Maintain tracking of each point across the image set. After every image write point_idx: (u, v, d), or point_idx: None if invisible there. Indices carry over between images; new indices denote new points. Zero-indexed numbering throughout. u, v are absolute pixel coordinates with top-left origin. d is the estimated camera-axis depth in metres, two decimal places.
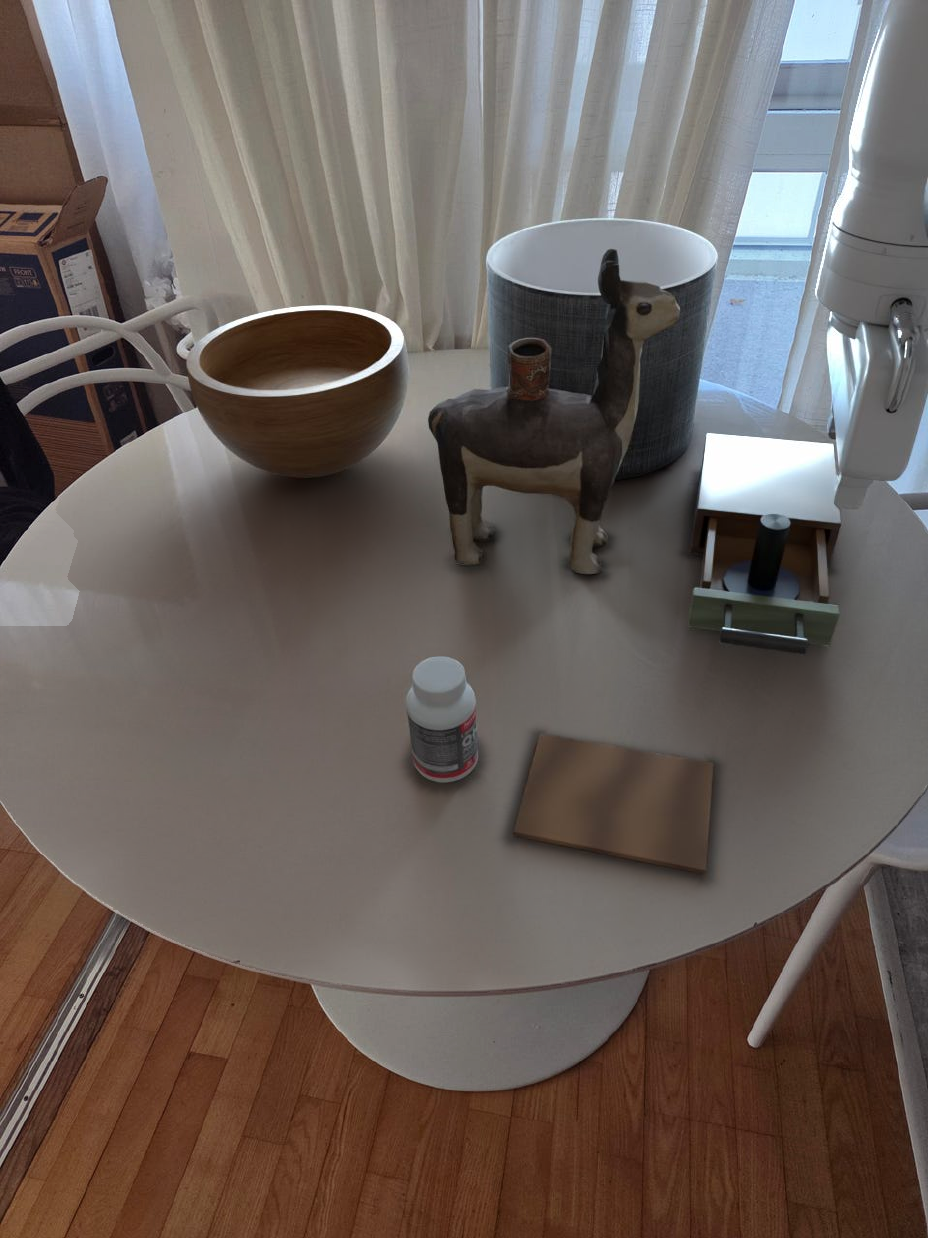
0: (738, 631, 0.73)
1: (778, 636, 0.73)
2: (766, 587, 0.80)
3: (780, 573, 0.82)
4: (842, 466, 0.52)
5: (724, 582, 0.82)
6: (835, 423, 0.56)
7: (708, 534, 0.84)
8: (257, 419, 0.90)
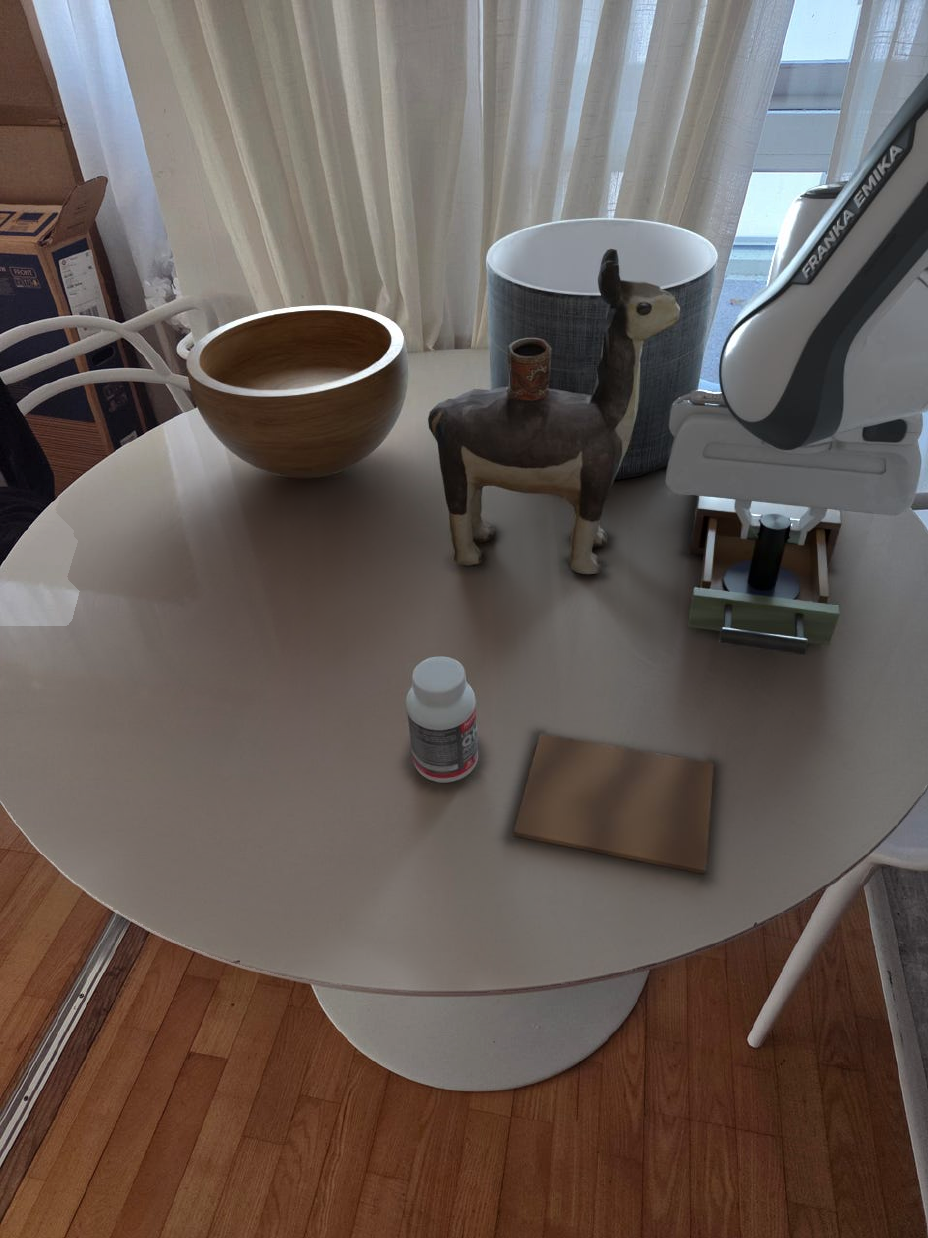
0: (738, 631, 0.73)
1: (778, 636, 0.73)
2: (766, 587, 0.80)
3: (780, 573, 0.82)
4: None
5: (724, 582, 0.82)
6: None
7: (708, 534, 0.84)
8: (257, 419, 0.90)
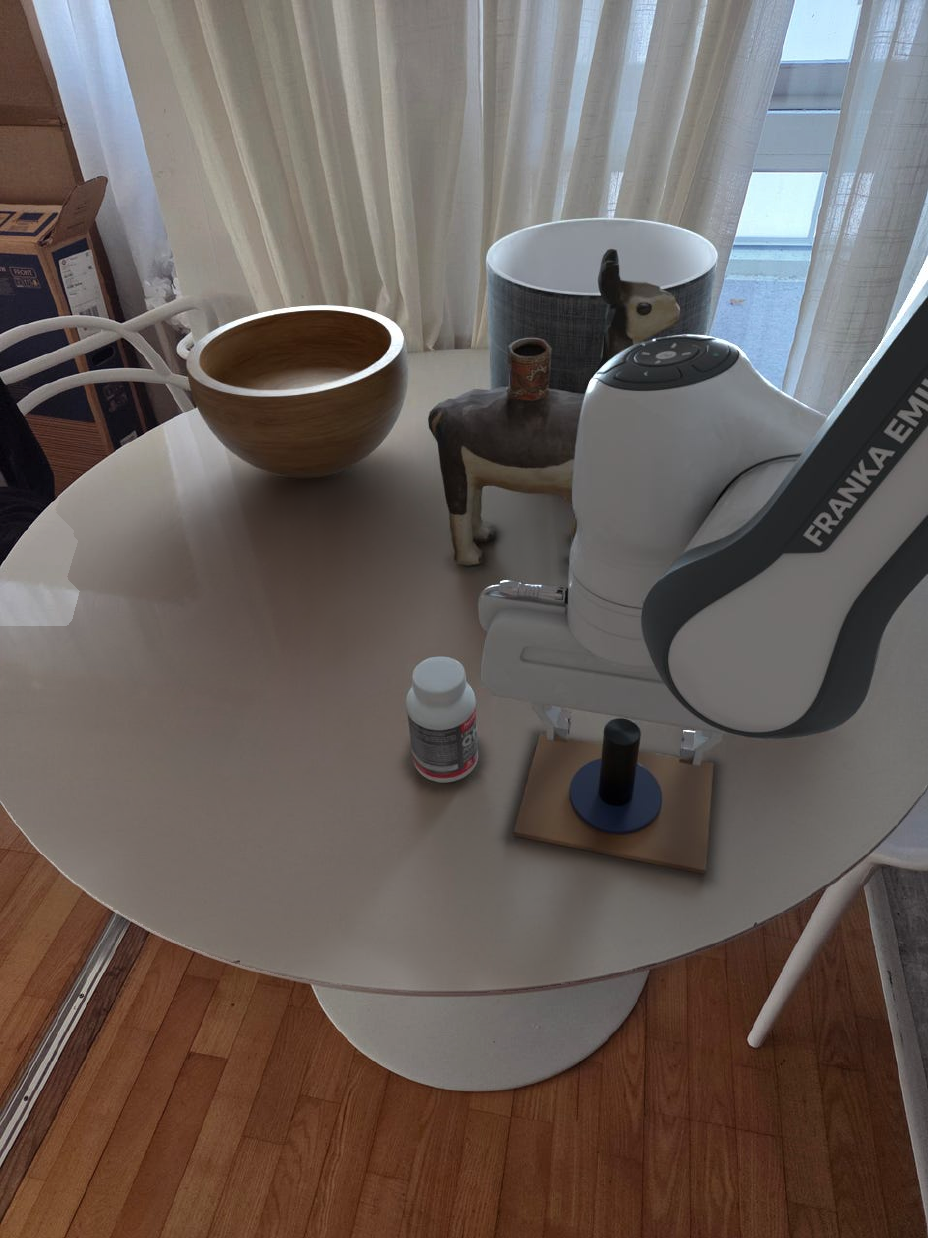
0: None
1: None
2: (619, 802, 0.64)
3: (641, 778, 0.66)
4: None
5: (570, 791, 0.66)
6: None
7: None
8: (257, 419, 0.90)
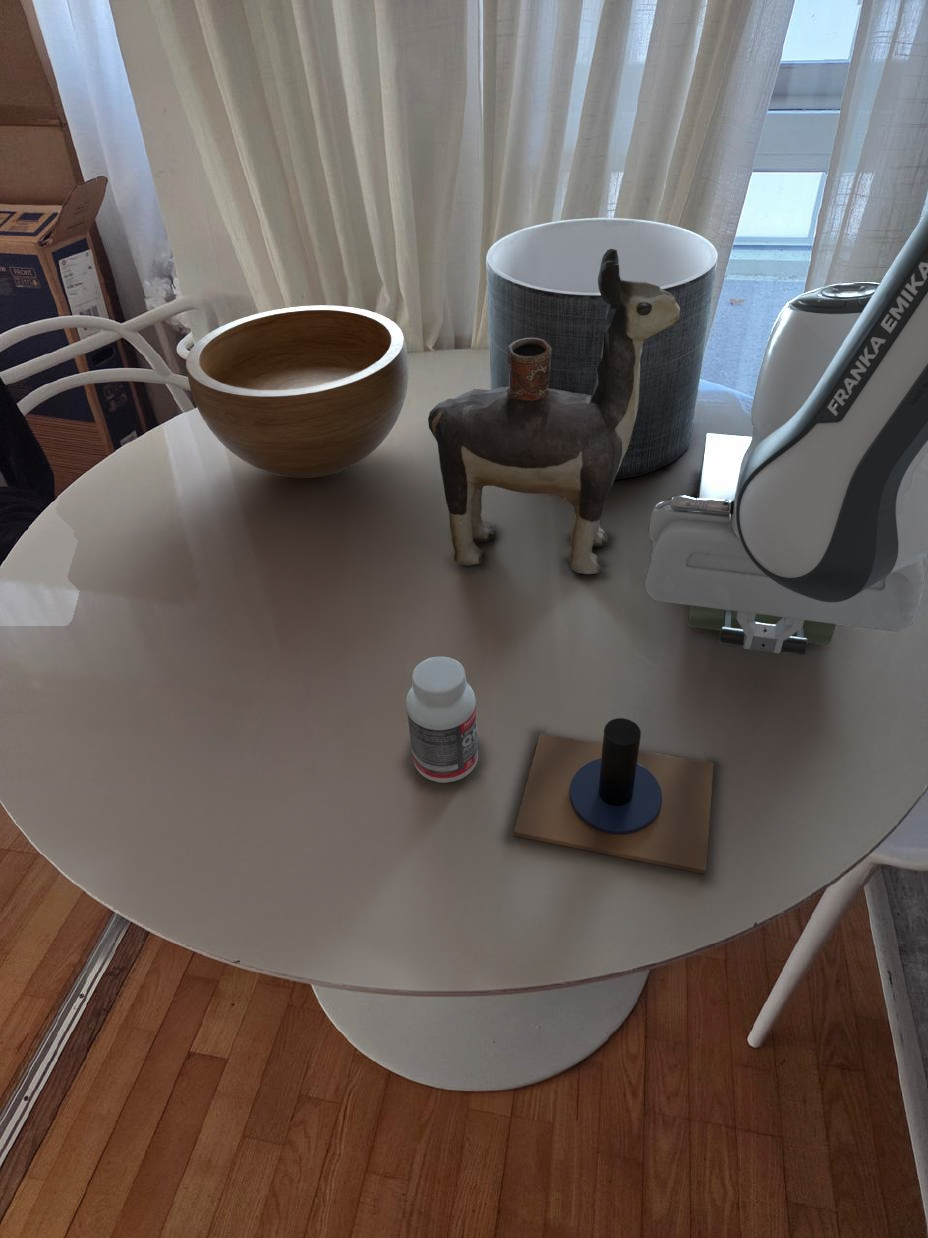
0: (738, 631, 0.73)
1: None
2: (619, 802, 0.64)
3: (641, 778, 0.66)
4: None
5: (570, 791, 0.66)
6: None
7: None
8: (257, 419, 0.90)
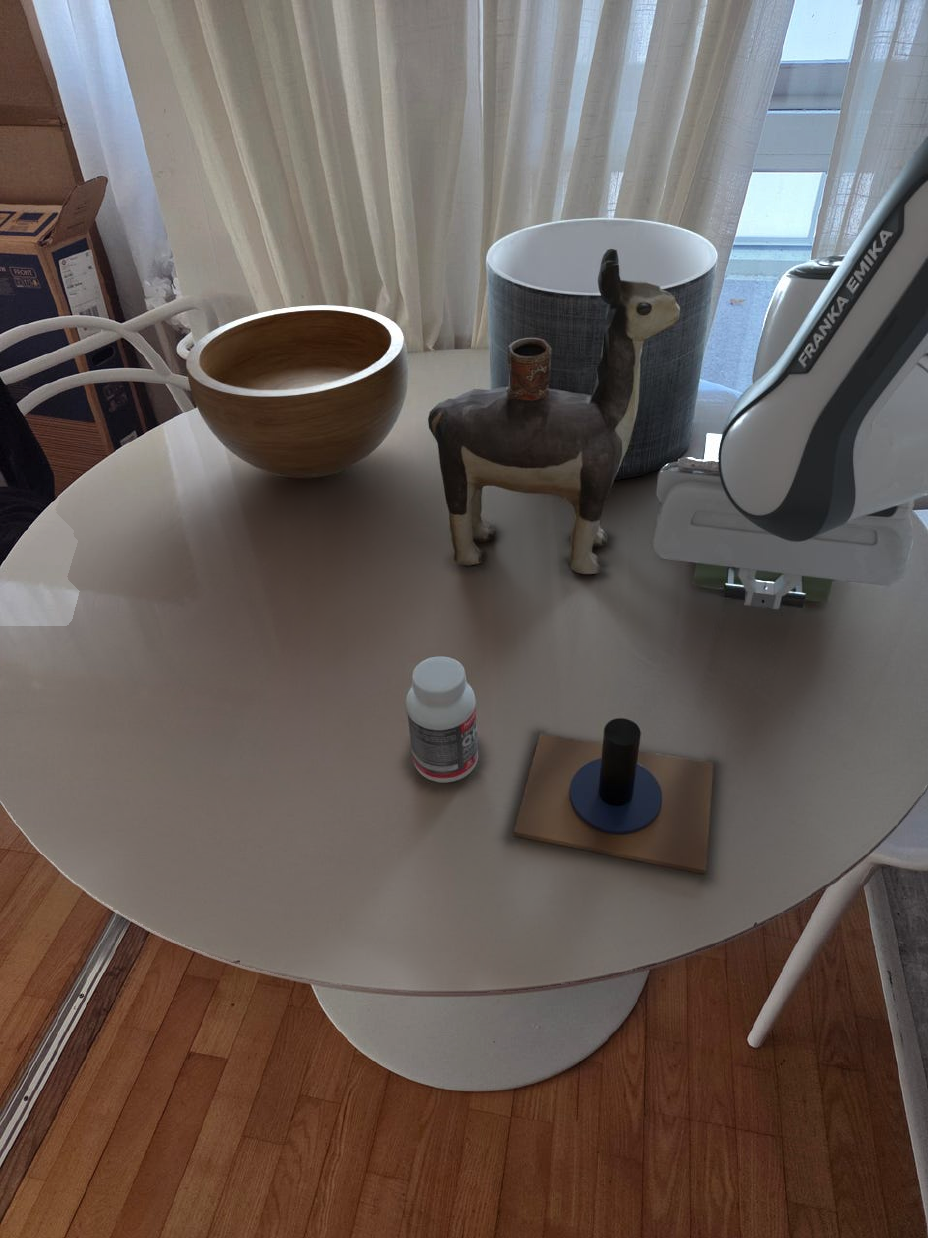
0: (740, 586, 0.78)
1: None
2: (619, 802, 0.64)
3: (641, 778, 0.66)
4: None
5: (570, 791, 0.66)
6: None
7: None
8: (257, 419, 0.90)
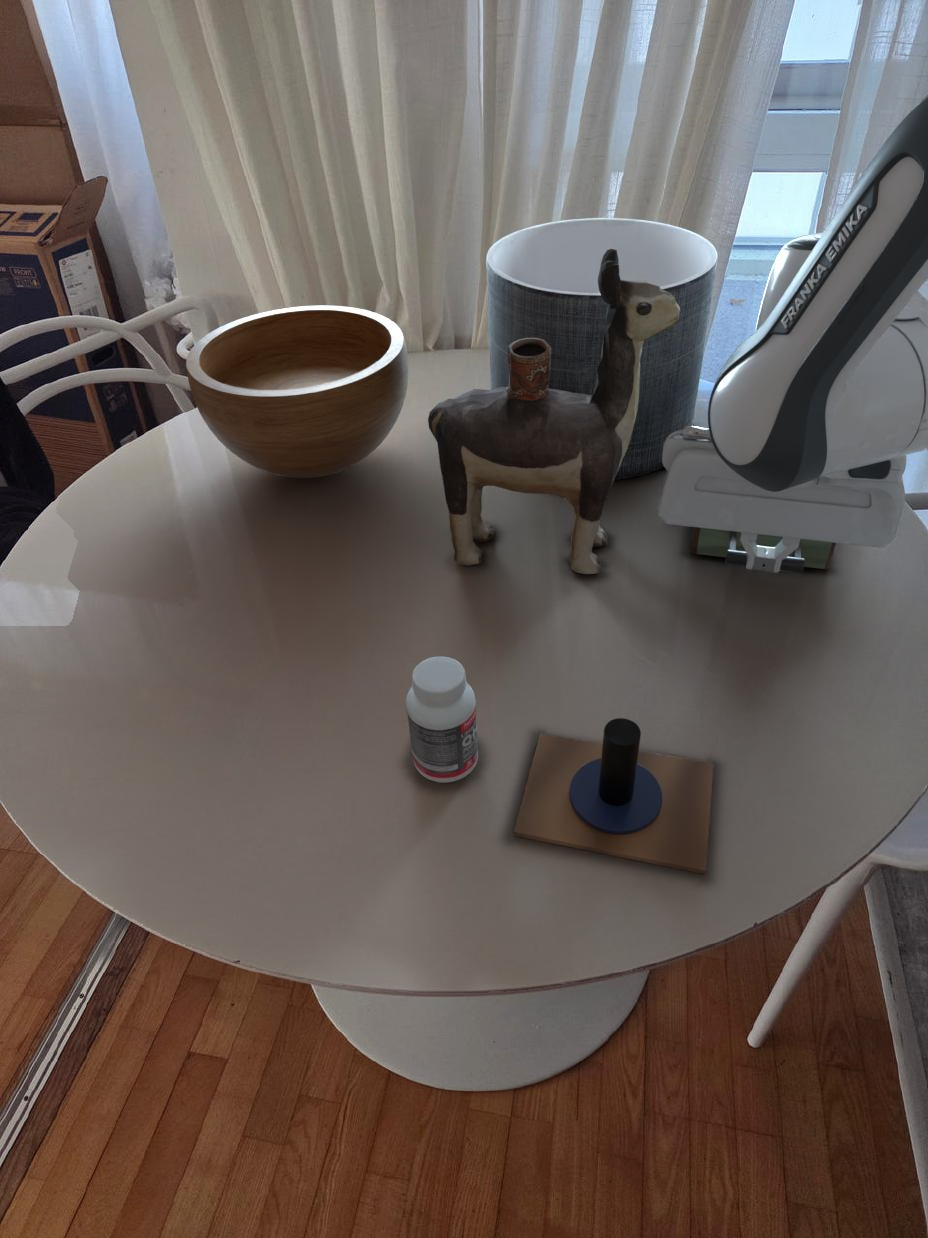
0: (742, 552, 0.82)
1: None
2: (619, 802, 0.64)
3: (641, 778, 0.66)
4: None
5: (570, 791, 0.66)
6: None
7: None
8: (257, 419, 0.90)
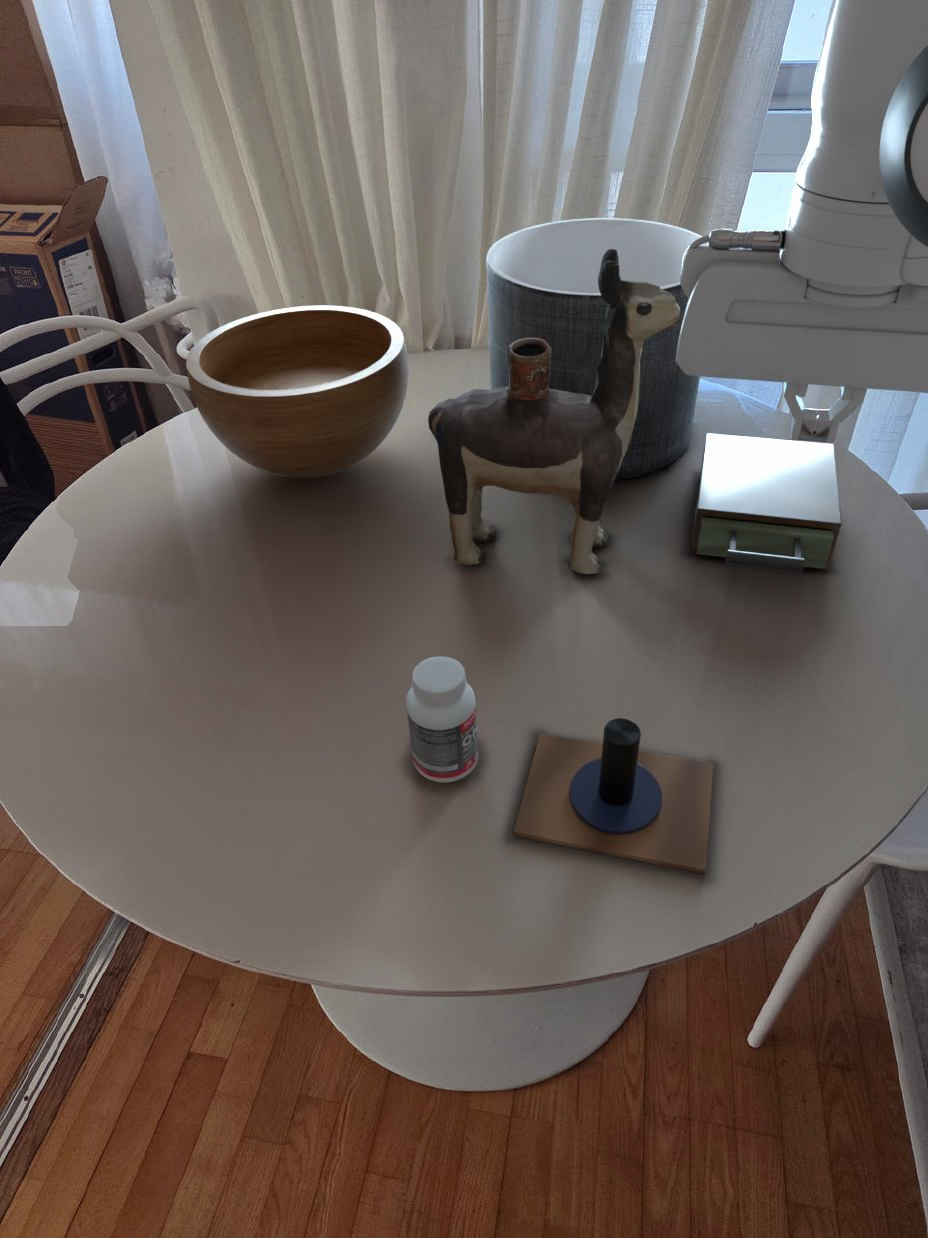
0: (742, 552, 0.82)
1: (778, 556, 0.81)
2: (619, 802, 0.64)
3: (641, 778, 0.66)
4: None
5: (570, 791, 0.66)
6: None
7: None
8: (257, 419, 0.90)
